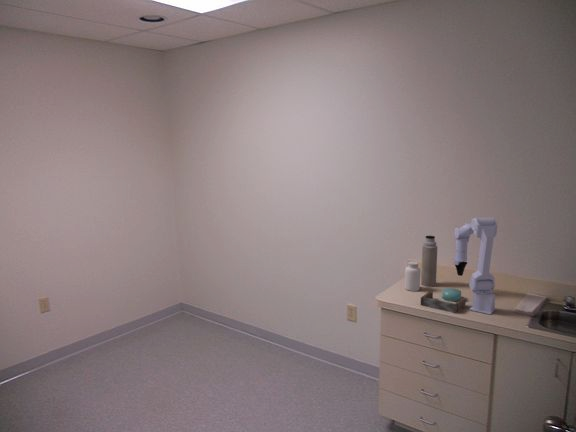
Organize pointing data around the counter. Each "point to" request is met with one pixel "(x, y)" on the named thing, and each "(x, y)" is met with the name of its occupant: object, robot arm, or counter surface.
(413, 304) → the counter surface
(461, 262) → the robot arm
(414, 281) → the pill bottle
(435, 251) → the thermos bottle
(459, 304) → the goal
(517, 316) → the counter surface
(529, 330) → the counter surface
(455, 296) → the teal flat rounded lump
